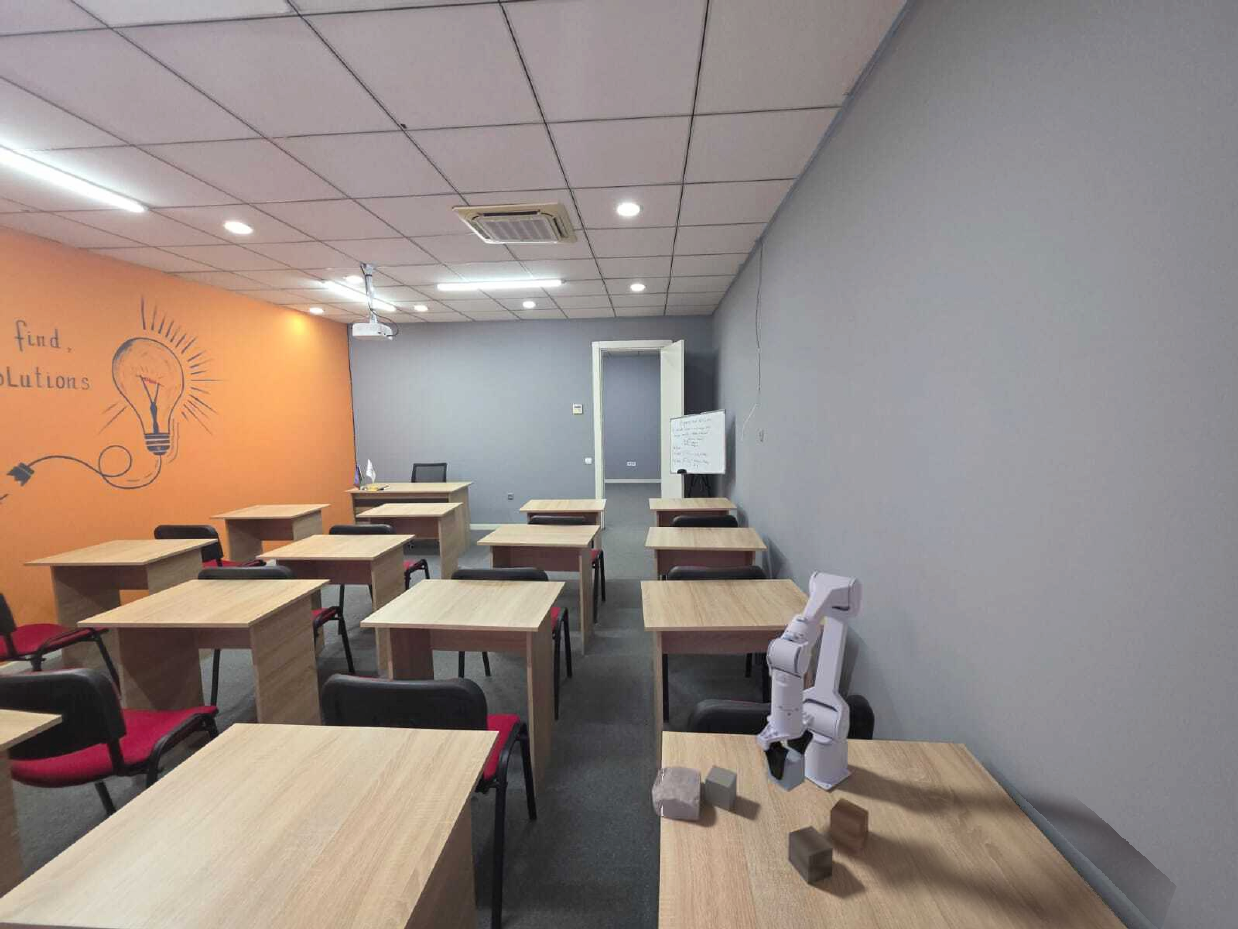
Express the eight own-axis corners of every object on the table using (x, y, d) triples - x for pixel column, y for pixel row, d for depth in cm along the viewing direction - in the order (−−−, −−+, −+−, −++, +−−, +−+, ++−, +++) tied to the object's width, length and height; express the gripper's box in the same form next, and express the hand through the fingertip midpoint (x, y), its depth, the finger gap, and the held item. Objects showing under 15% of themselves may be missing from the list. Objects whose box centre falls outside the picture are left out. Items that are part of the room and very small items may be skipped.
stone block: (652, 826, 95) (703, 824, 93) (648, 802, 95) (698, 798, 93) (658, 786, 107) (704, 783, 105) (654, 764, 107) (700, 761, 105)
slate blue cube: (782, 767, 97) (783, 743, 97) (804, 782, 93) (805, 756, 93) (766, 777, 94) (766, 752, 94) (788, 792, 90) (788, 766, 90)
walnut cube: (840, 822, 94) (841, 797, 94) (867, 837, 91) (868, 811, 90) (829, 836, 91) (830, 810, 90) (857, 852, 87) (858, 826, 87)
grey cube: (713, 787, 103) (713, 764, 103) (736, 796, 101) (736, 773, 100) (704, 802, 99) (705, 778, 99) (728, 812, 96) (729, 787, 96)
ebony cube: (811, 852, 87) (811, 825, 87) (832, 876, 82) (832, 847, 82) (788, 860, 85) (788, 833, 85) (808, 884, 81) (808, 855, 80)
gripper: (792, 683, 100) (791, 747, 101) (745, 704, 92) (743, 774, 93) (823, 698, 95) (822, 766, 95) (775, 722, 86) (774, 796, 87)
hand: (785, 771), depth 94 cm, fingers closed on slate blue cube, 5 cm apart
